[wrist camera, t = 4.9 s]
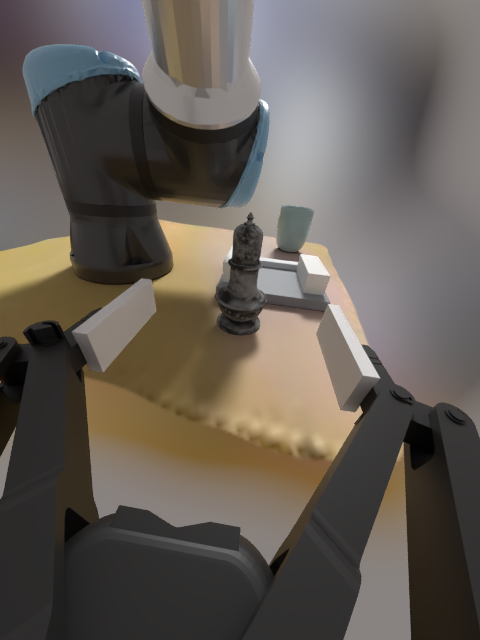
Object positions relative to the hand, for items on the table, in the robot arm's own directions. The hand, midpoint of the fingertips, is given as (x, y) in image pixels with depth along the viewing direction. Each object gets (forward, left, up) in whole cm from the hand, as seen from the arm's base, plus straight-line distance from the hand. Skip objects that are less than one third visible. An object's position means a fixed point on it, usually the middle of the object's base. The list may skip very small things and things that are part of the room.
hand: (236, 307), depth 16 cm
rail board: (+4, +19, -6) cm, 21 cm away
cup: (+9, +43, -7) cm, 45 cm away
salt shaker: (0, +7, -7) cm, 10 cm away
